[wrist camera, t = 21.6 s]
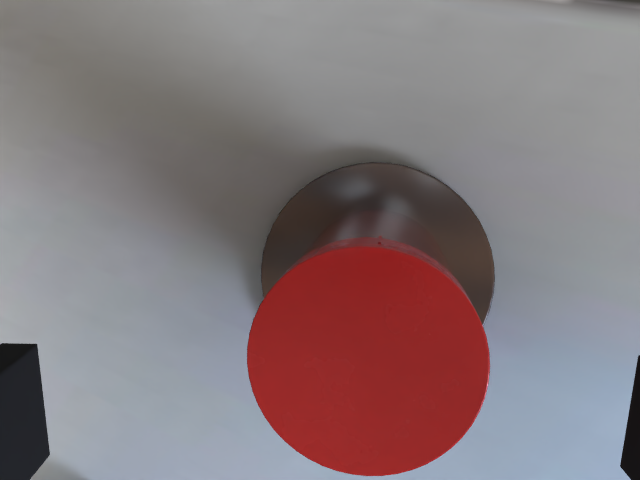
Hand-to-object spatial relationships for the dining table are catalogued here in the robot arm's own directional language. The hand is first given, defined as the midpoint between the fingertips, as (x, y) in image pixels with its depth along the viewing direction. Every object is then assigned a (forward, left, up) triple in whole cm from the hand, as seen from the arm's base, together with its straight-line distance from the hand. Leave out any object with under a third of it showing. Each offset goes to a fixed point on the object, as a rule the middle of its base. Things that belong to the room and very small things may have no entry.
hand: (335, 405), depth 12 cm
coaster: (+2, +1, -19) cm, 19 cm away
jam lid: (+2, +1, -7) cm, 7 cm away
